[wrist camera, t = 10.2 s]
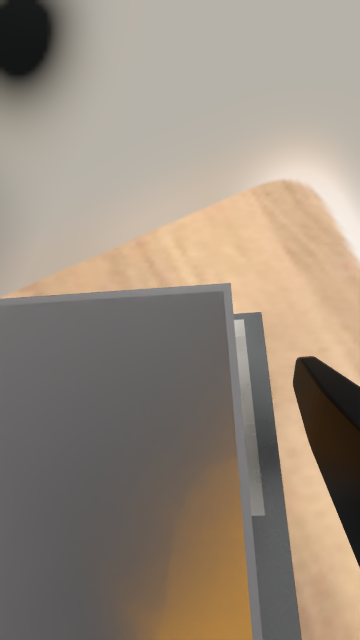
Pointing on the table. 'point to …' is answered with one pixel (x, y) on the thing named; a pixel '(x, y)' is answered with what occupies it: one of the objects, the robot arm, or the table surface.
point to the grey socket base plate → (265, 485)
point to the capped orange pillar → (124, 469)
